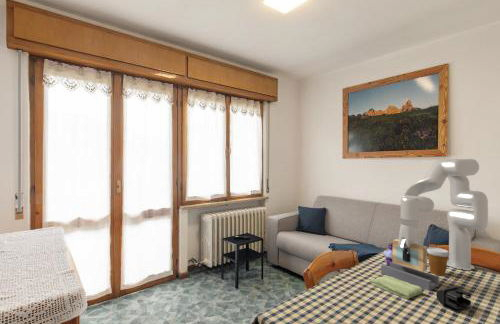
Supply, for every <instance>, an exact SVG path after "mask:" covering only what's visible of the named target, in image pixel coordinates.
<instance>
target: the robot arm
mask: <svg viewBox="0 0 500 324" xmlns="http://www.w3.org/2000/svg"><path fill="white" fill-rule="evenodd" d="M479 170H480V164H479V162H478V160H476V159H473V158H451V159H447V158H446V159H444V158H443V159H438V160H437V159H436V160H435V161H434V162H433V163H432V165H431V166H430V168H429V169H428V171H427V172H426V174H425V176H424V177H423V178H422V179H421V180H419V181H417V182H415V183H413V184H411V185H410V186H409V187H408V188H407V189H406V190H405V192H404V193H403V195H402V197H401V199H400V219H399V221H400V227H399V234H398V240H399V245H400V248H401V249H402V252H403V261H406V262H410V254H409V251H410V247H411V246H412V245H414V244H419V229H418V228H419V214H420V213H430V212H431V211H432V210H434V208H435V203H434V200H432V199H431V198H430V197H426V196H421V195H422V194H425V193H429V192H433V191H434V192H435V191H436V190H439V189H440V188H442V186H443V185H444V183H445V181H446V180H447V178H448V181H449V195H450V196H449V198H450V204H451V205H453V206H455V207H459V208H452V209H449V210H448V211H447V213H446V219H447V220H446V221H447V223H448V253H449V256H448V260H447V266H448V267H451V268H454V269H456V270H461V269H463V271H472V270H471V269H474V270H475V266H474V265H473V264H471V260H472V258H471V257H472V253H471V252H472V250H471V249H472V245H471V243H472V236H471V233H470V231H469V229H471V230H477V231H478V230H479V231H485V230H486V229H487V227H488V225H489V201H488V200H489V198H488V197H487V195H486V194H485V192H482V191H479V190H471V189H470V187H471V186H470V181H469V176H474V175H477V173H478V172H479ZM467 176H468V177H467ZM419 195H420V196H419ZM461 208H466V209H461ZM469 209H472V210H469ZM405 245H407V246H405ZM406 248H407V249H406Z"/></svg>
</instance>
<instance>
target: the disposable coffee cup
mask: <svg viewBox="0 0 500 324" xmlns="http://www.w3.org/2000/svg"><path fill="white" fill-rule="evenodd" d="M427 260H428V265H429V271H430V274H432V275H435V276H445V275H446V272H447V266H448V265H447V260H449V250H447V249H444V248H440V247H434V246H433V247H432V246H431V247H427Z"/></svg>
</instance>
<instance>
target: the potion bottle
mask: <svg viewBox="0 0 500 324" xmlns="http://www.w3.org/2000/svg"><path fill="white" fill-rule="evenodd" d="M387 248H388V249H387V250H384V251H383V254H384V257H385V260H386V266H389V267H390V262H392V253H393V242H389V244H388V245H387Z"/></svg>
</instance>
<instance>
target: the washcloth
mask: <svg viewBox="0 0 500 324" xmlns="http://www.w3.org/2000/svg"><path fill="white" fill-rule="evenodd" d="M370 282H371V283H372V286H375V287H377V288H378V289H381V290H383V291H385V292H388V293H391V294H393V295H394V296H397V297H399V298H402V299H404V300H409V299H411V298H414V297H416V296H420V295H422V294H424V291H423V290H424V289H423V288H421V287H419V286H416V285H412V284H410V283H408V282H404V281H401V280H398V279H396V278H393V277H390V276H387V275H385V276H379V277H376V278H371V279H370Z"/></svg>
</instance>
